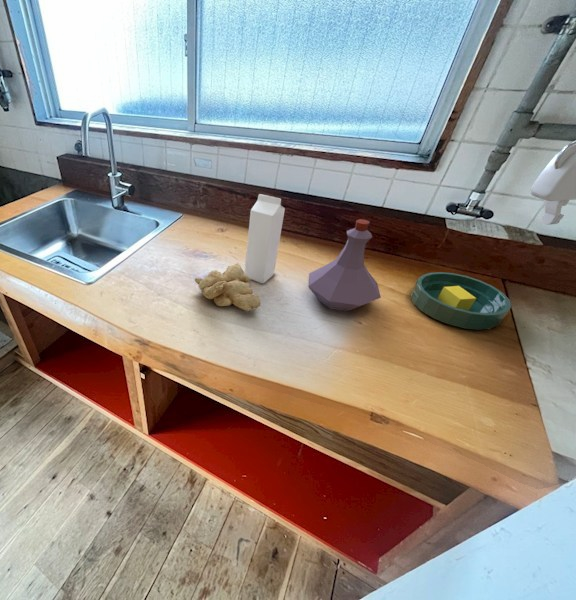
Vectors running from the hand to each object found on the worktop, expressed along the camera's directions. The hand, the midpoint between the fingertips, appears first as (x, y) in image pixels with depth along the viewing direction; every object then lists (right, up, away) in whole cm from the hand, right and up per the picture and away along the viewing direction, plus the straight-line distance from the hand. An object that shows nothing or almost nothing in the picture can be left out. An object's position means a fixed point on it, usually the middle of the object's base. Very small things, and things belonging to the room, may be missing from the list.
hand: (574, 221), depth 56 cm
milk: (-47, -7, +33) cm, 57 cm away
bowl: (-5, -15, +18) cm, 25 cm away
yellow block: (-6, -15, +18) cm, 24 cm away
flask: (-30, -14, +23) cm, 40 cm away
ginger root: (-57, -13, +25) cm, 64 cm away
